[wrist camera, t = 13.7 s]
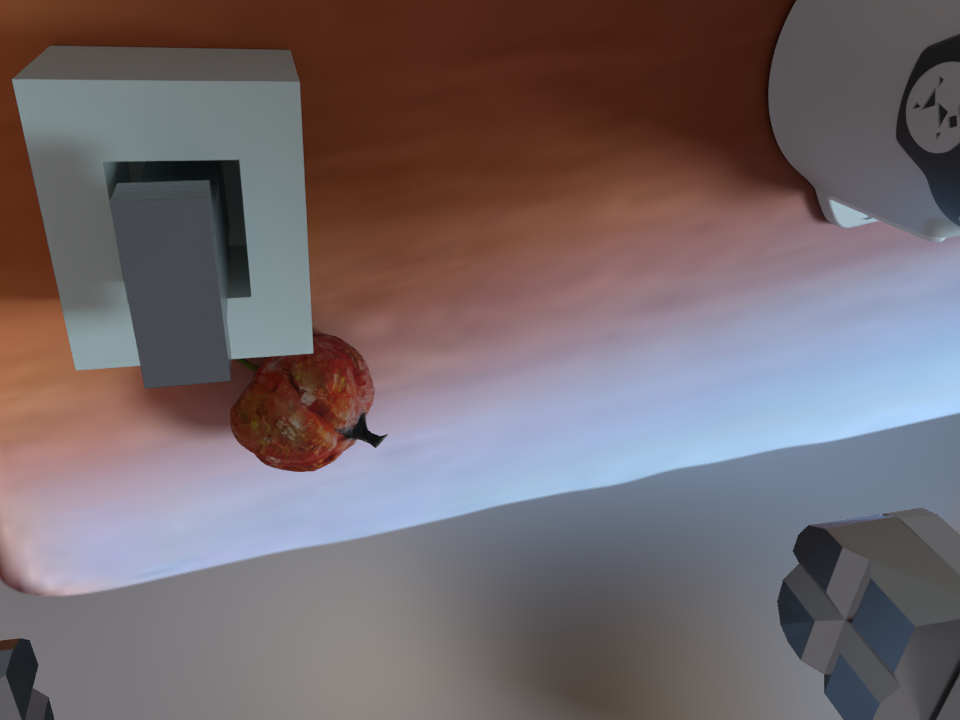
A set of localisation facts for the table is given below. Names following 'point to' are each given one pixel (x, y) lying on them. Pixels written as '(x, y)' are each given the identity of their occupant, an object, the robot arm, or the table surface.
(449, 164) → the table surface
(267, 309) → the well block
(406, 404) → the table surface
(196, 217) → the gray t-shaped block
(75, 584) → the table surface
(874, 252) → the table surface
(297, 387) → the pomegranate
